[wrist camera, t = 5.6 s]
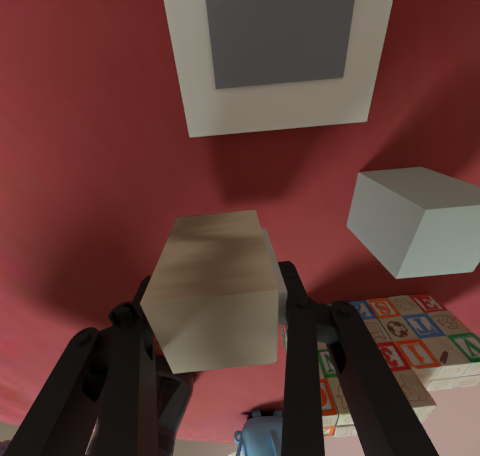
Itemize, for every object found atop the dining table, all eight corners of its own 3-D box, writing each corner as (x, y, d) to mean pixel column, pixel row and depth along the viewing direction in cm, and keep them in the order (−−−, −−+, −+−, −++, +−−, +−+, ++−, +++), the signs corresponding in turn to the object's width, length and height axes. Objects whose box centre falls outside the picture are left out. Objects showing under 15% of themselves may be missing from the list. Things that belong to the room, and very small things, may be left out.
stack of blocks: (430, 290, 30) (541, 394, 19) (416, 317, 33) (504, 419, 22) (279, 309, 30) (306, 420, 20) (280, 334, 33) (304, 441, 23)
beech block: (192, 275, 19) (173, 373, 12) (176, 217, 16) (139, 303, 9) (258, 269, 19) (276, 362, 12) (255, 209, 16) (278, 289, 9)
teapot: (276, 398, 47) (286, 474, 37) (302, 420, 53) (317, 491, 43) (229, 412, 50) (227, 485, 40) (258, 431, 56) (263, 499, 46)
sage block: (346, 226, 23) (395, 279, 16) (358, 172, 20) (425, 209, 13) (400, 221, 23) (472, 271, 16) (421, 166, 20) (521, 201, 13)
